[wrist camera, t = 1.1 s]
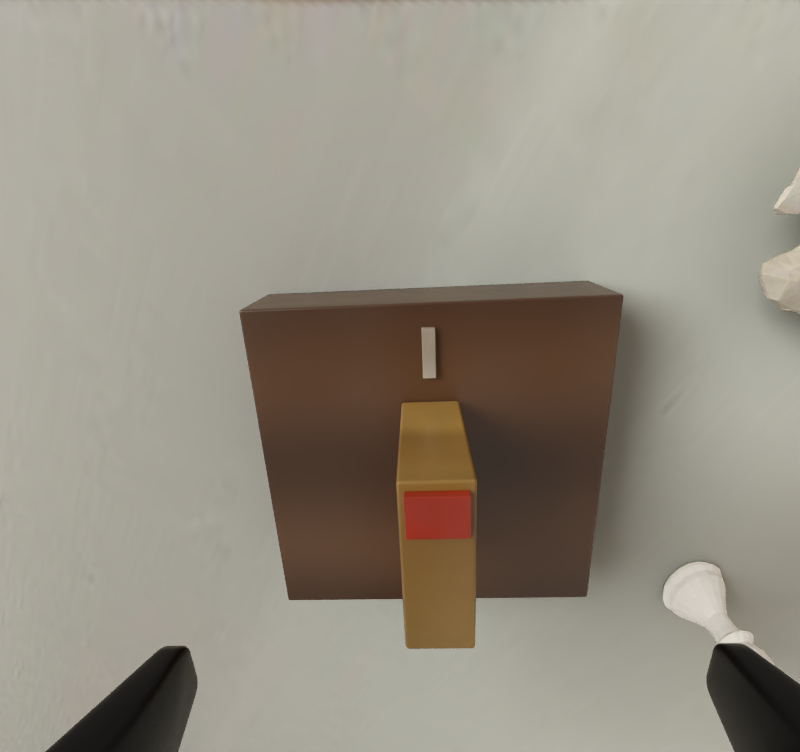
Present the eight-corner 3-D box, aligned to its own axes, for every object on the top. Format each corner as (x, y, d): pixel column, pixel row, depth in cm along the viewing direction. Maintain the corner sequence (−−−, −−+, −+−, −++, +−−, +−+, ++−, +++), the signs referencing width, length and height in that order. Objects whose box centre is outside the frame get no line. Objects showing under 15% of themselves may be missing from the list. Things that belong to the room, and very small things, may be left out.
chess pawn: (687, 551, 17) (764, 646, 13) (732, 568, 17) (819, 667, 14) (648, 599, 18) (709, 701, 14) (690, 615, 18) (762, 720, 14)
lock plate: (563, 544, 17) (588, 601, 15) (305, 549, 18) (286, 604, 15) (588, 280, 14) (627, 295, 11) (267, 294, 14) (235, 311, 12)
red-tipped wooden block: (459, 532, 14) (476, 659, 10) (407, 533, 14) (405, 660, 10) (458, 400, 12) (479, 487, 8) (401, 401, 13) (394, 489, 9)
